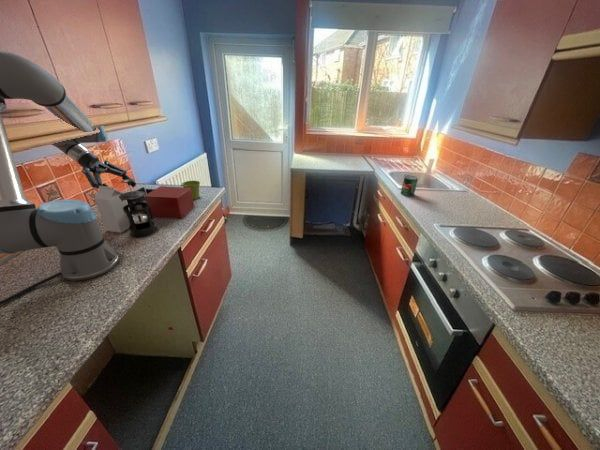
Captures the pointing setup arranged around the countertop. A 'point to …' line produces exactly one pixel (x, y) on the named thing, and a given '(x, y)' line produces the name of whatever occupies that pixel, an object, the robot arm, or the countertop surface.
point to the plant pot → (193, 188)
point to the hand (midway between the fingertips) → (125, 190)
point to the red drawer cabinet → (170, 202)
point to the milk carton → (112, 209)
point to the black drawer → (142, 201)
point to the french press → (138, 220)
